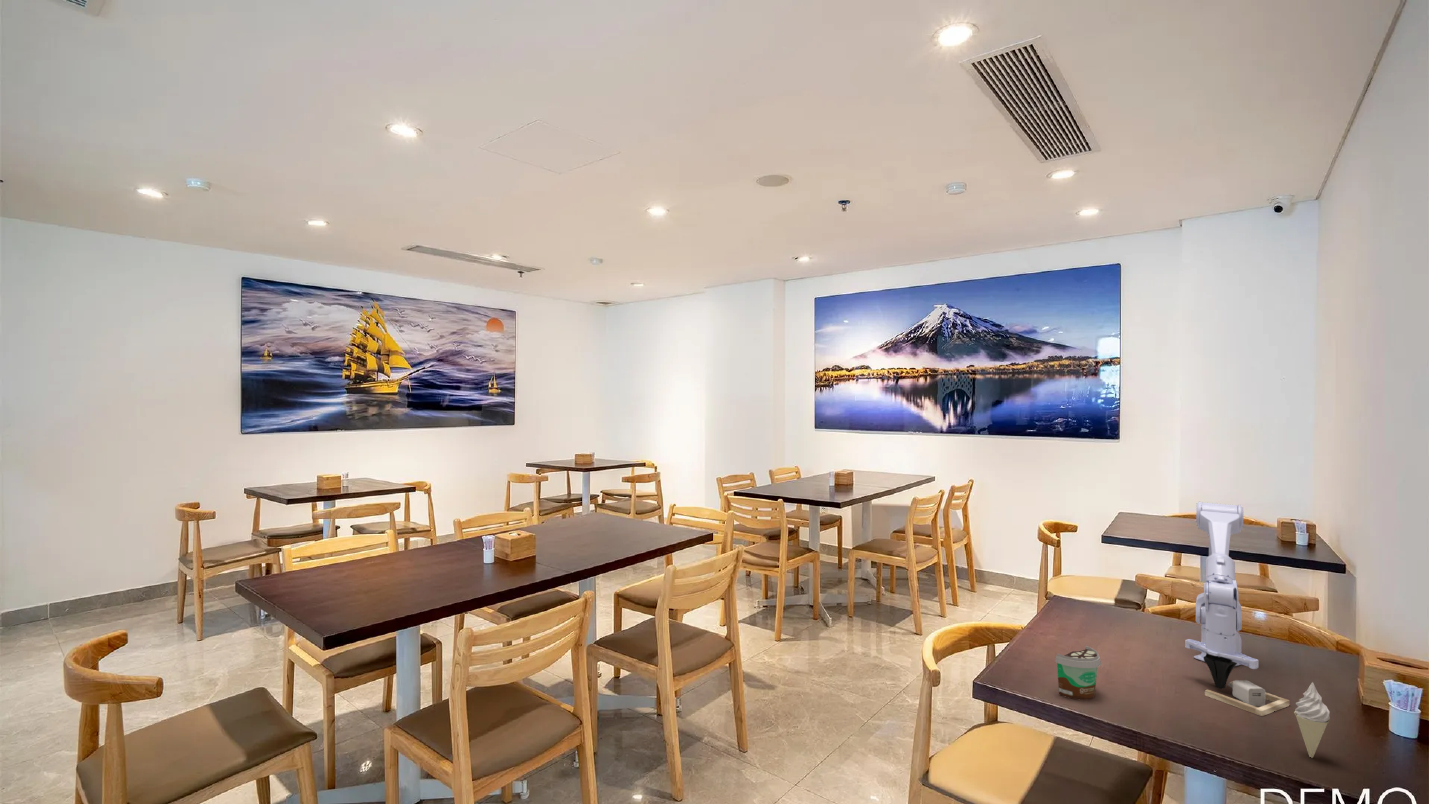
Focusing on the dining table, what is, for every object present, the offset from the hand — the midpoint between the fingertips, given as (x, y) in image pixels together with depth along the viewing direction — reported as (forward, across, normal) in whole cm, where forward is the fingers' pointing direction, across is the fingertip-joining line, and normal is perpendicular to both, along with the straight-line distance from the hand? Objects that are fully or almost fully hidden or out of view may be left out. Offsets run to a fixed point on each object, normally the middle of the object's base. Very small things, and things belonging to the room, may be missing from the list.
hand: (1220, 687), depth 152 cm
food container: (+1, -12, -34) cm, 36 cm away
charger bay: (+1, +5, 0) cm, 5 cm away
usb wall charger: (+1, +5, 0) cm, 5 cm away
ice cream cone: (+1, +24, -18) cm, 30 cm away
